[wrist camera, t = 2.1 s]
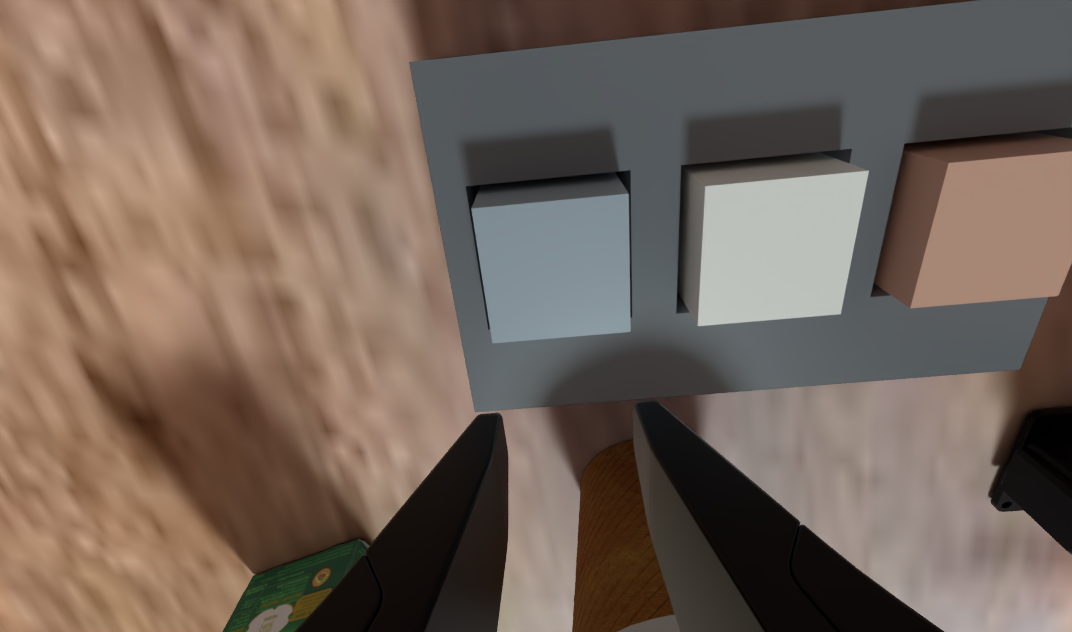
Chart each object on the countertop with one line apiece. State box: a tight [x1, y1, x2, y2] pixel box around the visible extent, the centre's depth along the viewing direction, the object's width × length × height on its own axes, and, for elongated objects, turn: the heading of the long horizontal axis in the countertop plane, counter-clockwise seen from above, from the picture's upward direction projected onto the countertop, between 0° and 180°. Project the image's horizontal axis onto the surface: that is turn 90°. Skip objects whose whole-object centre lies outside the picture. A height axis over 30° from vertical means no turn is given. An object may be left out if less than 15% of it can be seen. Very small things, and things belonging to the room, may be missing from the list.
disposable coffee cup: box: [572, 440, 680, 632], centre depth 22 cm, size 10×10×12 cm
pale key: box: [677, 152, 869, 326], centre depth 17 cm, size 4×4×4 cm
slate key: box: [471, 172, 631, 343], centre depth 17 cm, size 4×4×4 cm
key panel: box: [409, 0, 1072, 412], centre depth 18 cm, size 20×12×4 cm, turn 96°
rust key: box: [874, 132, 1072, 308], centre depth 17 cm, size 4×4×4 cm
